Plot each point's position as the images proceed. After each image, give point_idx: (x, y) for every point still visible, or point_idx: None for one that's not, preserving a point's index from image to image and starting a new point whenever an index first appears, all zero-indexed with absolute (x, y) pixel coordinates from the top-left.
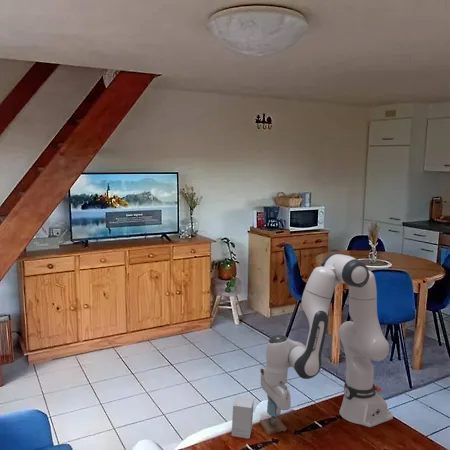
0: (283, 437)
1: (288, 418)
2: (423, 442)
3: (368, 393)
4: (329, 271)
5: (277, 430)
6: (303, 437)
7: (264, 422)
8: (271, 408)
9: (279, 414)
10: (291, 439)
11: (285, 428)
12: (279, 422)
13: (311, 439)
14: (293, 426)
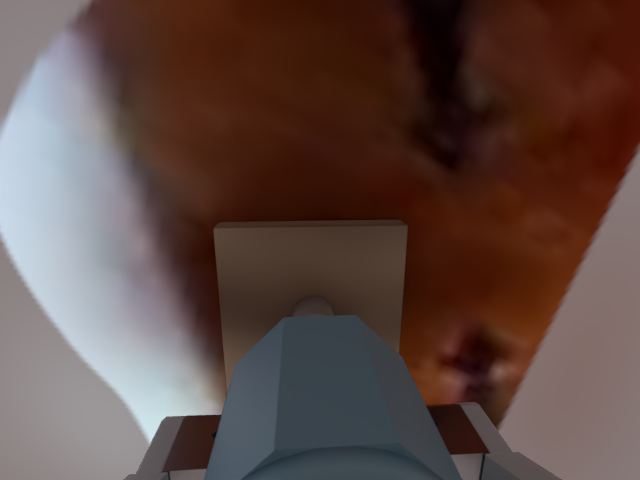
0: (469, 283)
1: (213, 99)
2: None
3: None
4: None
5: (398, 309)
6: (538, 118)
7: None
8: None
9: (392, 351)
10: (517, 235)
11: (406, 237)
12: (303, 250)
13: (595, 58)
14: (358, 121)
